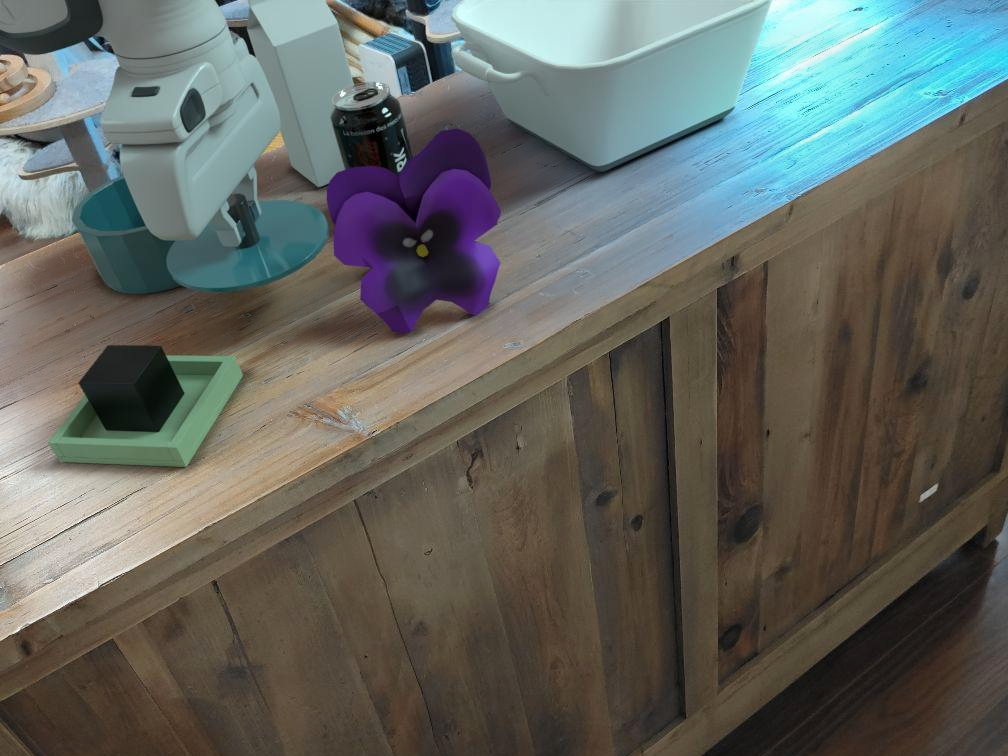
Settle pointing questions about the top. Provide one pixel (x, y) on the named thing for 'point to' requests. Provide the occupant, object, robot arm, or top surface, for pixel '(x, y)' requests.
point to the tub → (610, 68)
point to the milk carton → (302, 78)
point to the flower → (419, 230)
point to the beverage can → (370, 127)
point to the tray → (179, 436)
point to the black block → (132, 388)
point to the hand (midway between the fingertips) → (242, 231)
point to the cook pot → (122, 241)
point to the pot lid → (251, 247)
